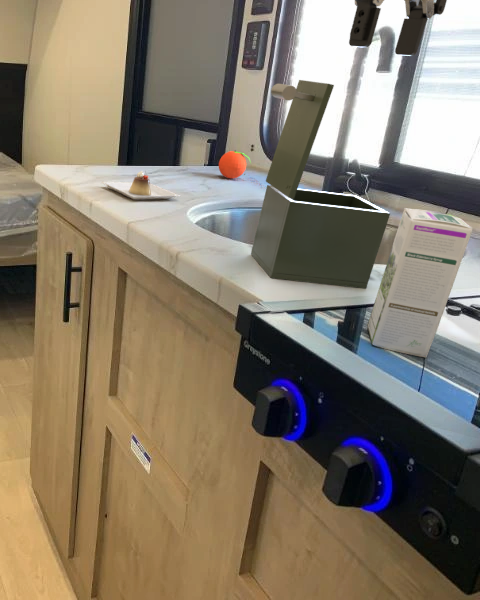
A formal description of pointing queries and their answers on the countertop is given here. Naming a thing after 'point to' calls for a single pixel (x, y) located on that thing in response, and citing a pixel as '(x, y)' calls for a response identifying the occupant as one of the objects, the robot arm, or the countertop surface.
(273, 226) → the trash bin
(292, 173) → the bin lid
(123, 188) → the dessert
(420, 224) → the syrup box
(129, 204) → the countertop surface
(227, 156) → the clementine
